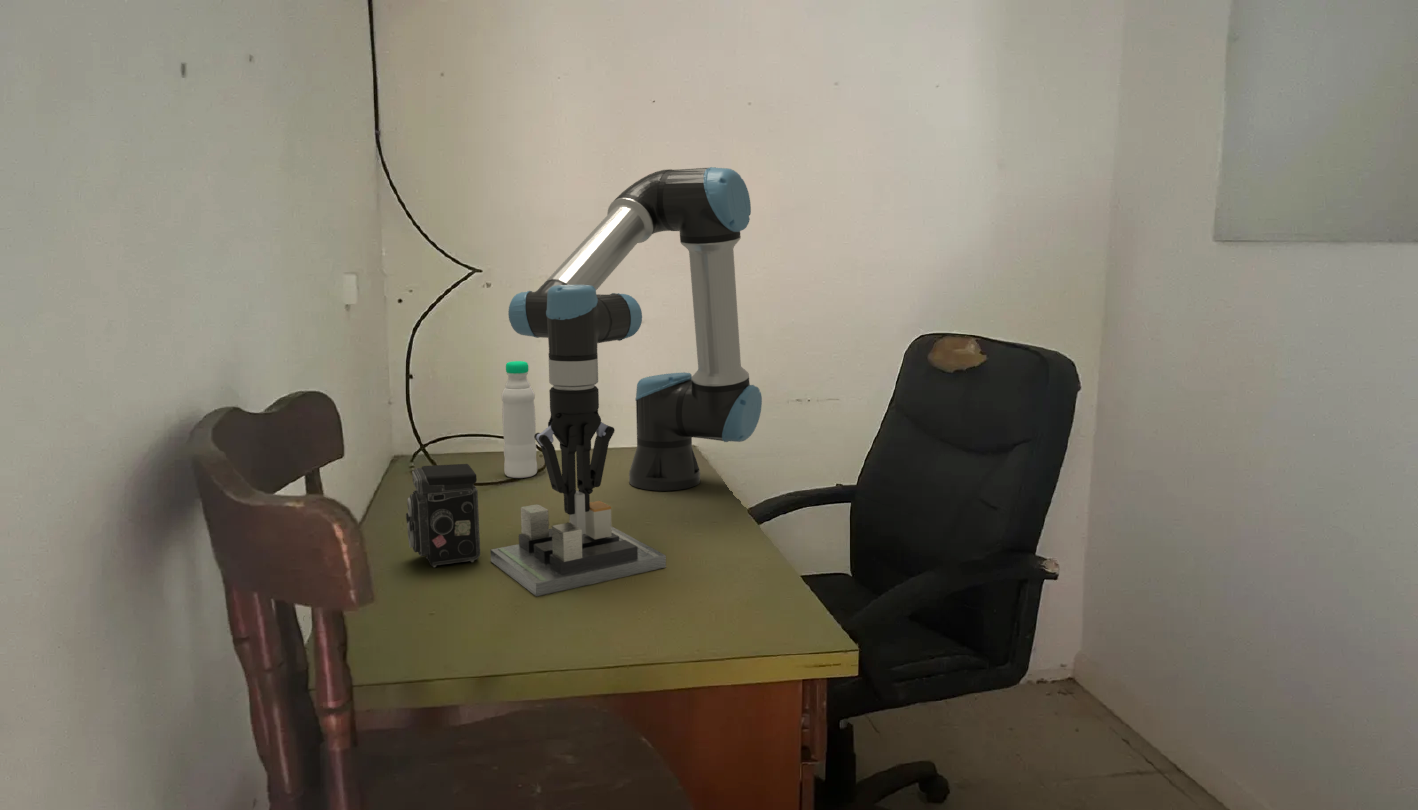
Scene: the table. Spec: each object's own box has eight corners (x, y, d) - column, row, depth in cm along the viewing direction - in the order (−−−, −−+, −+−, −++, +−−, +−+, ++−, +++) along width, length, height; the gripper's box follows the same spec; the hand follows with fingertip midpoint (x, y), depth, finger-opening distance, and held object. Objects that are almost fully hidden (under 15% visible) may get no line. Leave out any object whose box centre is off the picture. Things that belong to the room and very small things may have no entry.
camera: (406, 554, 154) (401, 465, 152) (471, 546, 159) (467, 459, 156) (413, 574, 145) (408, 480, 142) (482, 565, 149) (478, 474, 147)
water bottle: (521, 469, 211) (517, 358, 207) (544, 473, 207) (540, 361, 203) (497, 475, 205) (493, 362, 201) (520, 480, 201) (516, 364, 197)
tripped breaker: (600, 529, 153) (599, 500, 153) (611, 536, 150) (611, 506, 149) (583, 532, 152) (582, 503, 151) (594, 539, 148) (594, 509, 148)
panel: (612, 537, 163) (611, 490, 162) (665, 567, 148) (665, 515, 147) (490, 561, 151) (488, 510, 150) (536, 596, 136) (534, 540, 135)
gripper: (600, 379, 151) (603, 519, 156) (524, 386, 144) (529, 533, 148) (622, 385, 145) (625, 531, 149) (544, 393, 138) (549, 546, 142)
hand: (577, 532), depth 149 cm, fingers closed
